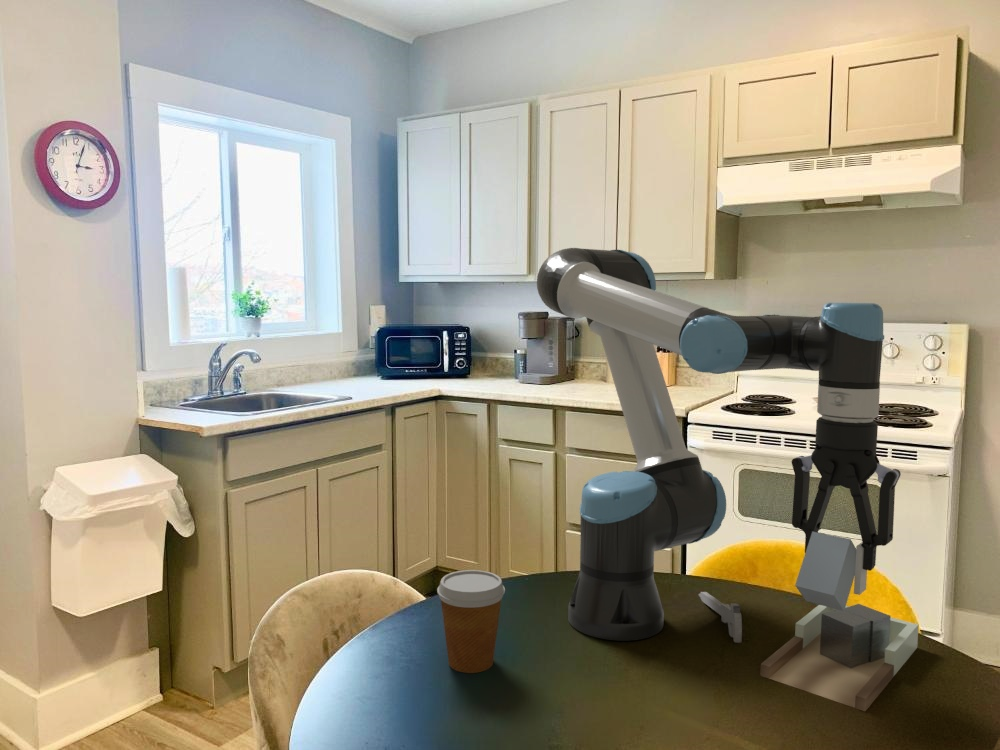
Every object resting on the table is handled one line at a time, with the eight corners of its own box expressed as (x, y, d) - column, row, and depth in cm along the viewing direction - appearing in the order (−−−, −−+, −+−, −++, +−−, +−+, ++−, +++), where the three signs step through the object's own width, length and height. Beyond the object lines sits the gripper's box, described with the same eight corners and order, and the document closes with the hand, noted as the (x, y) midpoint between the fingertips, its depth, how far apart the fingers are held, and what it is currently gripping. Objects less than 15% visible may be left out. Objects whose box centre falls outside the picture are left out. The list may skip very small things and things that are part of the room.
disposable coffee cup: (423, 663, 108) (423, 580, 107) (471, 641, 115) (471, 564, 114) (470, 686, 101) (471, 599, 100) (518, 662, 108) (519, 580, 107)
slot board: (760, 680, 103) (760, 663, 103) (823, 626, 121) (824, 611, 121) (864, 717, 94) (865, 698, 94) (916, 652, 112) (917, 637, 112)
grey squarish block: (819, 654, 110) (821, 613, 109) (837, 648, 112) (839, 608, 111) (850, 668, 105) (852, 626, 105) (869, 662, 107) (871, 620, 107)
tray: (794, 646, 112) (795, 623, 112) (823, 621, 121) (824, 600, 121) (893, 676, 103) (894, 651, 103) (917, 647, 112) (918, 624, 112)
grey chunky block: (839, 648, 111) (841, 608, 111) (856, 642, 113) (858, 603, 113) (871, 662, 107) (873, 621, 107) (888, 656, 109) (890, 615, 109)
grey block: (794, 585, 100) (812, 531, 103) (806, 601, 103) (822, 548, 106) (833, 595, 96) (850, 539, 100) (844, 611, 99) (860, 556, 103)
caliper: (741, 649, 113) (743, 608, 113) (734, 649, 113) (736, 608, 113) (704, 597, 134) (705, 562, 133) (697, 597, 134) (699, 562, 133)
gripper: (769, 413, 105) (762, 576, 108) (913, 429, 93) (902, 612, 96) (790, 408, 111) (783, 563, 113) (929, 422, 99) (918, 595, 101)
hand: (837, 585), depth 104 cm, fingers closed on grey block, 5 cm apart
